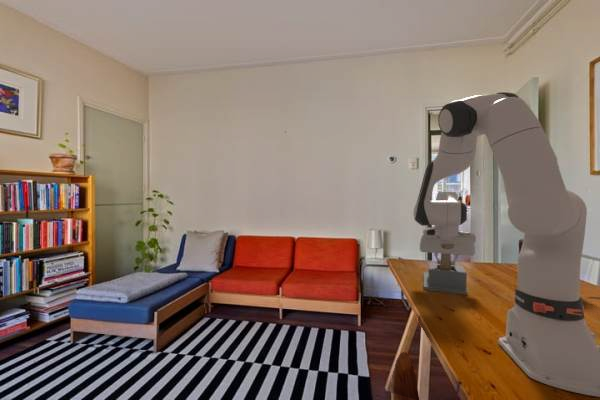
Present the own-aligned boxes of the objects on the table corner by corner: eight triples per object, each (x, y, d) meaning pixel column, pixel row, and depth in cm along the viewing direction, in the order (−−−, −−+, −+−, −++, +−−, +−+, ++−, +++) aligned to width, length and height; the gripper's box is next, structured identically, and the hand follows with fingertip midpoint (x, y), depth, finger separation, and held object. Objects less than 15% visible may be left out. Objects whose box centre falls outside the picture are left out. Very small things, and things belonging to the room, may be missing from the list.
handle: (452, 282, 112) (452, 245, 112) (435, 279, 117) (435, 243, 116) (455, 279, 116) (456, 243, 116) (438, 276, 120) (439, 241, 120)
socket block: (467, 295, 105) (467, 275, 104) (423, 289, 111) (423, 271, 110) (460, 278, 125) (460, 262, 125) (423, 274, 131) (423, 259, 131)
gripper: (474, 231, 115) (473, 265, 115) (419, 228, 123) (419, 260, 123) (477, 233, 109) (476, 269, 109) (419, 230, 117) (419, 263, 117)
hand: (445, 264), depth 116 cm, fingers open, 4 cm apart
